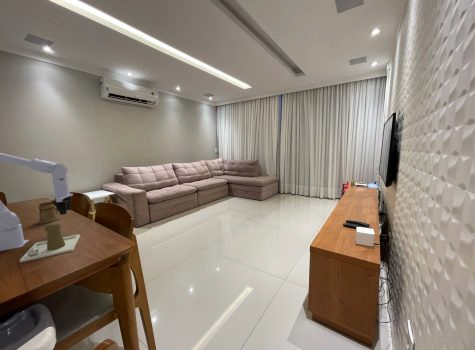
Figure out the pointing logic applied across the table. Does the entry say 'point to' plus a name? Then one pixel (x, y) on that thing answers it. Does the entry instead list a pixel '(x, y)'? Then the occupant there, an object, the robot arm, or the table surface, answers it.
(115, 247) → the table surface
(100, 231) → the table surface
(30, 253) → the mixing ball
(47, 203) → the wooden mug
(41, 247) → the tray
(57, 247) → the cork
